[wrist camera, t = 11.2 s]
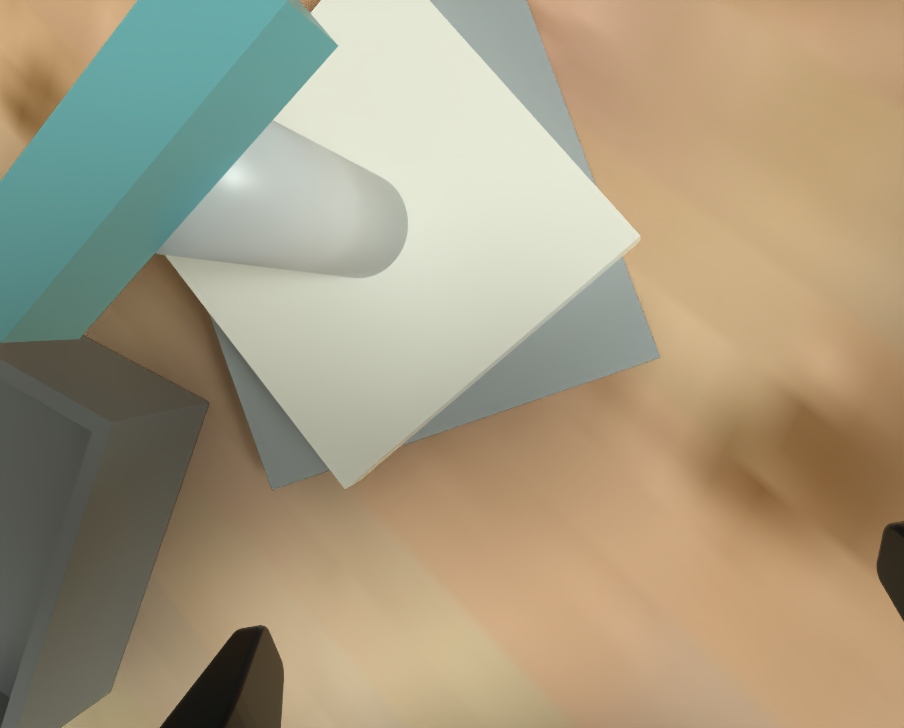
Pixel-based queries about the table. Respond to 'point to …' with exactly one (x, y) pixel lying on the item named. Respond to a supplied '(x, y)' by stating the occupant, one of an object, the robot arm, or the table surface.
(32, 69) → the table surface
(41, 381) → the housing
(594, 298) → the pad
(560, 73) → the table surface
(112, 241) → the cover
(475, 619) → the table surface
